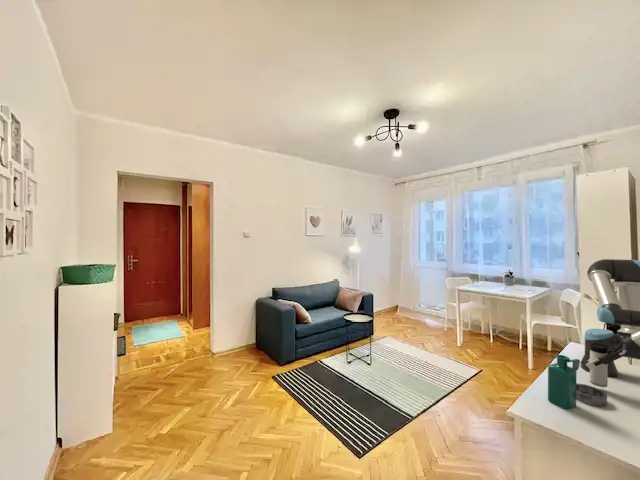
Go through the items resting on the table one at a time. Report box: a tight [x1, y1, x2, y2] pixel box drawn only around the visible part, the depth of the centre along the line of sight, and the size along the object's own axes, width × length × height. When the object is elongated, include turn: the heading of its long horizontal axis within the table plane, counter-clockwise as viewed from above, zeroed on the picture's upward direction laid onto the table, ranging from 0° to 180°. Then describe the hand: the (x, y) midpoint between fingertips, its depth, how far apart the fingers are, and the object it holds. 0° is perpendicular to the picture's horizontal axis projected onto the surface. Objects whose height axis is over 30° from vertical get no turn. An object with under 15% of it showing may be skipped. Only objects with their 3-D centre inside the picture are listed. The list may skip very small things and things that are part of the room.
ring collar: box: [576, 382, 608, 408], centre depth 132 cm, size 12×12×4 cm
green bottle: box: [547, 354, 581, 410], centre depth 127 cm, size 10×8×22 cm
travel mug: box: [589, 343, 609, 388], centre depth 139 cm, size 6×7×20 cm
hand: (589, 364), depth 142 cm, fingers closed on travel mug, 6 cm apart
